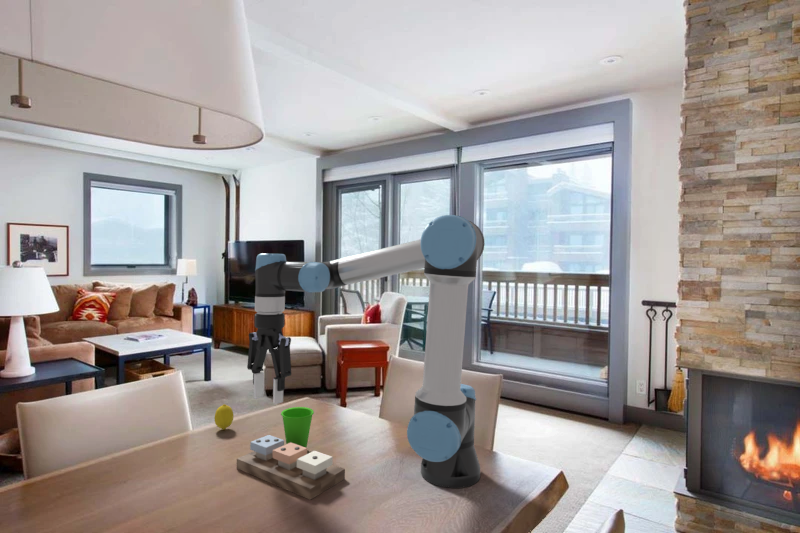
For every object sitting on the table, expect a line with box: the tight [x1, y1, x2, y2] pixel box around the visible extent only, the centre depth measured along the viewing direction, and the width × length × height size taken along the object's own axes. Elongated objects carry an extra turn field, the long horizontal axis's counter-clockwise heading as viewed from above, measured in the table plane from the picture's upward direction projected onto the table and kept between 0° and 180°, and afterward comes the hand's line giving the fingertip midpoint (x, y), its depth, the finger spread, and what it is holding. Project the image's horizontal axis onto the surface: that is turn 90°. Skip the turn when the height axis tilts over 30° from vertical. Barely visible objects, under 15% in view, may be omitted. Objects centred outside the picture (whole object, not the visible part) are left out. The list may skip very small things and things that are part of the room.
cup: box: [280, 406, 315, 449], centre depth 128 cm, size 9×9×11 cm
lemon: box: [214, 403, 234, 431], centre depth 142 cm, size 6×6×8 cm
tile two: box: [273, 442, 308, 470], centre depth 115 cm, size 6×6×5 cm
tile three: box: [249, 434, 285, 461], centre depth 119 cm, size 6×6×5 cm
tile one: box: [297, 450, 334, 480], centre depth 110 cm, size 6×6×5 cm
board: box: [236, 451, 346, 501], centre depth 115 cm, size 26×12×2 cm, turn 57°
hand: (268, 399), depth 119 cm, fingers open, 7 cm apart
